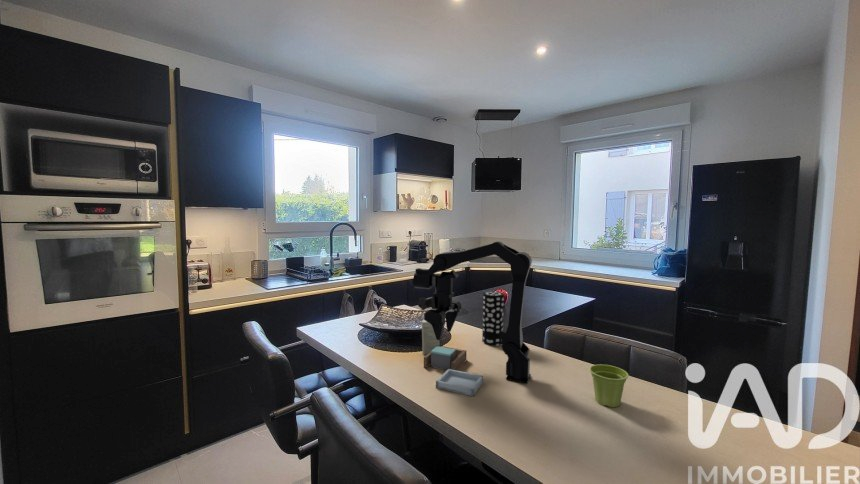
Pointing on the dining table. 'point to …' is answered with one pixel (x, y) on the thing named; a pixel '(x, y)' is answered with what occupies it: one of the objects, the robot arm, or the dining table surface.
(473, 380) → the tray
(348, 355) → the dining table surface
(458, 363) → the bay
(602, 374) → the plant pot
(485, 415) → the dining table surface
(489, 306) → the spotted tube
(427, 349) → the skincare box
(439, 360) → the teal rectangular block
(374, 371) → the dining table surface
